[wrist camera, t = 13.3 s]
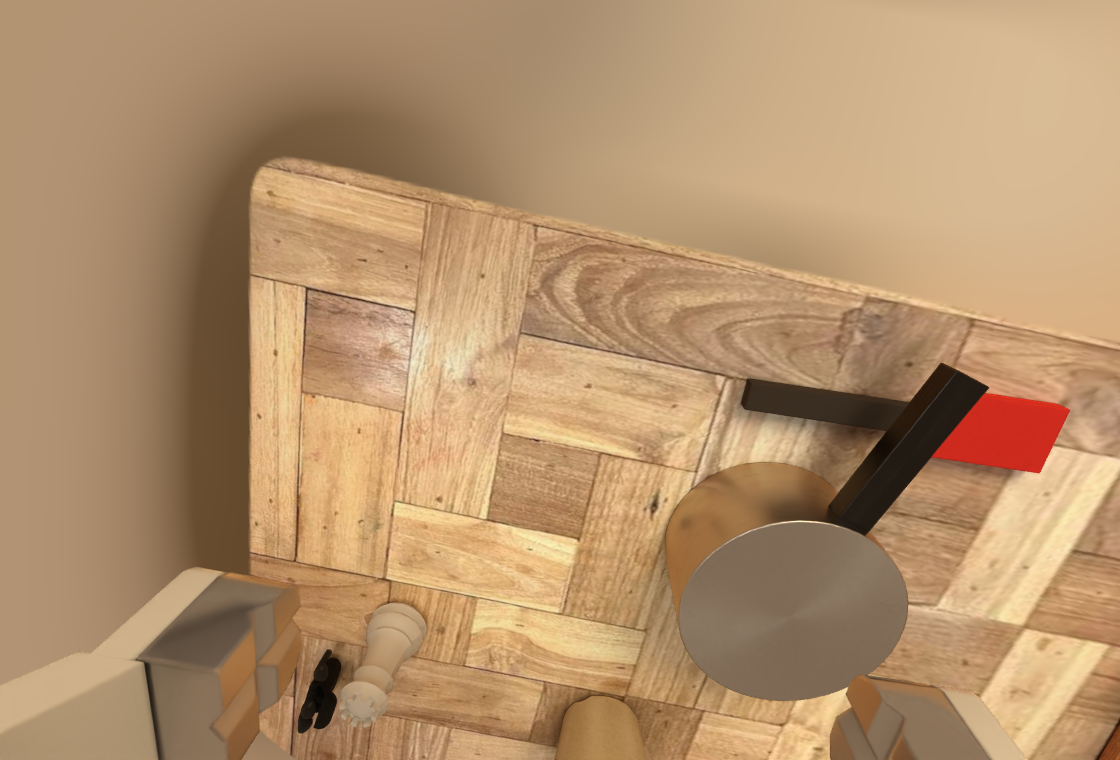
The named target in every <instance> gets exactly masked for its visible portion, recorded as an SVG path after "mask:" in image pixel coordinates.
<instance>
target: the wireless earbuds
mask: <svg viewBox="0 0 1120 760" xmlns="http://www.w3.org/2000/svg"><path fill="white" fill-rule="evenodd" d="M331 653H332V650H330V649H327V650H326V652H325V654H324V656H323V657H322V659H321V661H320V662H319V664H318V666H317V667H316V669H315V671H314V680H313V681H312V683H311V685H310V686H309V690H308V693H307V697H306V700H305V702H304V704H303V706H302V708H301V712H300V715H299V719H298V732H299V733H304V732H306V731H307V730H308V729H309V728H310V727H311V725H312V723H313V719H312V717H313V716H314V714H315V713H318V712H319V713H318V716H317V719H316V722H315V725H314V728H316V729H322V728H325V727H326V726H327V725H328V724H329V723H330V721H331V719H332V716H333V713H334V710H335V707H336V704H337V698H336V696H335V694H334V693H333V692H332V691H333V689H334V687H335V685H336V683H337V680H338V677H339V674H340V671H341V663H340V661H339V660H338V659H336V658H329V657H330V655H331ZM328 658H329V659H328Z"/></svg>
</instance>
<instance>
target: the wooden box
mask: <svg viewBox="0 0 1120 760" xmlns="http://www.w3.org/2000/svg"><path fill="white" fill-rule="evenodd" d="M1099 760H1120V725H1119V727H1118V728H1117V730H1116V732H1115V733H1114V735H1113V737H1112V738H1111V740H1110V741H1109V743H1108V745H1107V746H1106V748H1105V749H1104V751H1103V753H1102V754H1101V756H1100V758H1099Z"/></svg>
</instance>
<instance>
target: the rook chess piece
mask: <svg viewBox="0 0 1120 760" xmlns="http://www.w3.org/2000/svg"><path fill="white" fill-rule="evenodd" d="M426 633H427V631H426V623H425V621H424V619H423V617H422V615H421V614H420V612H419V611H418V610H416V609H415V608H414V607H413V606H411V605H408V604H405V603H399V602H393V603H390V604H386V605H383V606H380V607H379V608H378V609H377V610H376V611H375V612H374V613H373V615H372V618H371V621H370V622H369V625H368V627H367V632H366V635H367V652H366V655H365V658H364V661H363V663H362V665H361V667H360V668H359V669H357V670H356V671H355V673H354V676H353V680H354V681H353V682H351V683H349V684H347V685H346V686H345V687H344V688H343V689H342V691H341V694H340V698H341V705H340V708H339V709H340V710H342V712H341V714H340V716H341V717H342V719H343V720H345V719H347V717H348V715H349V716H350V717H351V718H352V720H351V722H350V724H349V725H351V726H354V727H357V725H358V723H359V721H364V722H363V724H362V725H363V727H364V728H365V727H369V726H371V723H372V721H373V722H374V723H375V721H376V719H377V718H378V717H380V716H381V715H382V714H384V713H385V712H386V710H387V707H388V699H387V696H386V694H388V693H389V692H390V691H391V689H392V687H393V677H394V676H395V674H396V672H397V671H398V669H399V667H400V666H401V664H402V663H403V662H405V661H406V660H407V659H408V658H409V657H411V656H412V655H413V654H415V653H416V652H417V651H418V649H419V648H420V645H421V643H422V641H423V640H424V638H425V635H426Z"/></svg>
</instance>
